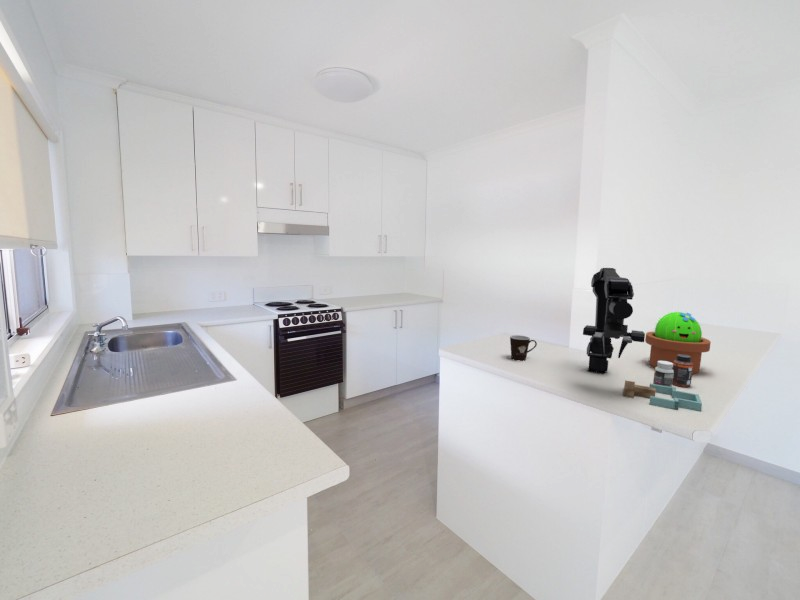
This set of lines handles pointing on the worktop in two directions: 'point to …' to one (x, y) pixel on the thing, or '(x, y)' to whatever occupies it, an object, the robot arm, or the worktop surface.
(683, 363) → the supplement bottle
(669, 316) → the potted cactus
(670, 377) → the pill bottle
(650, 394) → the t block
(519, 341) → the coffee mug
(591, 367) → the robot arm
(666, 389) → the teal angular frame
